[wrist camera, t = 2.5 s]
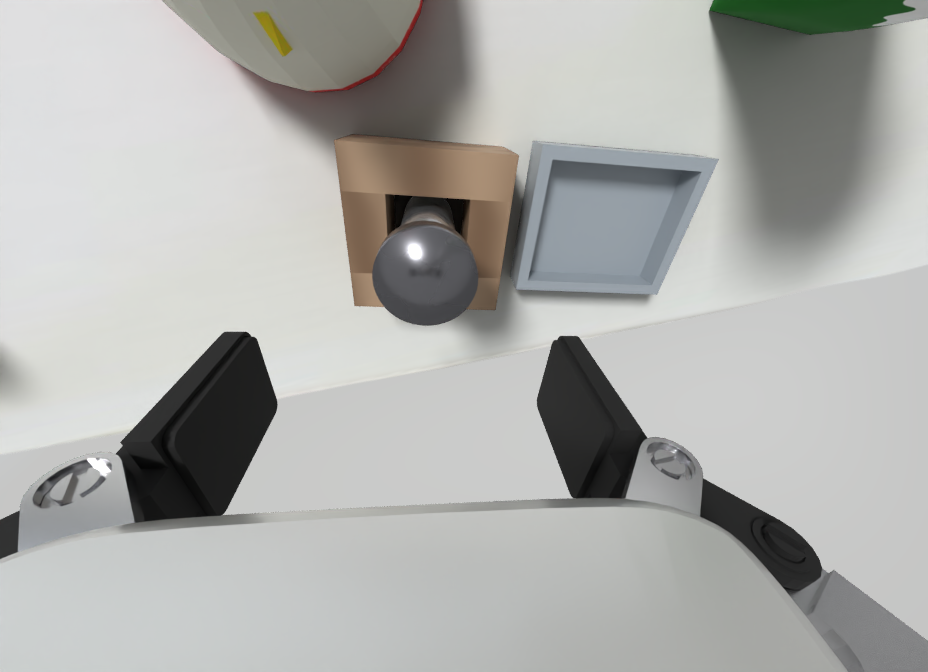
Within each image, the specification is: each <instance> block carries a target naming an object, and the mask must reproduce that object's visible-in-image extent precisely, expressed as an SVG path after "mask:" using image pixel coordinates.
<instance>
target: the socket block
mask: <svg viewBox="0 0 928 672" xmlns="http://www.w3.org/2000/svg"><path fill="white" fill-rule="evenodd" d="M334 144H335V152H336V160H337V168H338V176H339V184H340V192H341V200H342V208H343V216H344V224H345V232H346V240H347V248H348V256H349V264H350V272H351V280H352V288H353V297H354V305H355V306H372V307H384V306H383V304H382V303H381V302H380V300H379V299H378V297H377V295H376V292H375V290H374V286H373V281H372V270H373V265H374V261H375V258H376V256H377V253H378V251H379V248H380V246H381V244H382V243H383V241H384V240H385V238H386V237H387V236H388V235H389V234H390V233H391V232H392V231H394V230H395V205H394V195H409V196H424V197H439V198H454V199H463V206H462V220H461V234H460V235H461V236H462V237H463V238H464V239H465V240H466V242H467V243H468V244H469V246H470V248H471V250H472V252H473V255H474V258H475V262H476V266H477V270H478V287H477V291H476V294H475V296H474V298H473V300H472V302H471V303H470V305H469V306H468V307H467V308H466V309H475V310H496V303H497V296H498V290H499V283H500V277H501V270H502V263H503V257H504V250H505V244H506V237H507V231H508V224H509V217H510V211H511V204H512V198H513V191H514V184H515V178H516V171H517V165H518V158H519V155H517V154H515V153H514V152H512V151H510V150H508V149H506V148H504V147H499V146H487V145H475V144H463V143H452V142H440V141H428V140H416V139H404V138H392V137H380V136H368V135H356V134H352V135H349V136H346V137H343V138H340V139H336V140H334Z"/></svg>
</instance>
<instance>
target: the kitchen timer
mask: <svg viewBox="0 0 928 672" xmlns="http://www.w3.org/2000/svg"><path fill="white" fill-rule="evenodd" d="M162 1H163V2H164V3H165V4H166V5H167V6H168V7H169V8H170V9H172V10H173V11H174V12H175V13H176V14H177V15H178V16H179V17H180V18H181V19H183V20H184V21H185V22H186V23H187V24H188V25H189V26H190V27H191V28H192V29H194V30H195V31H196V32H197V33H198V34H199V35H200V36H201V37H202V38H204V39H205V40H206V41H207V42H208V43H209V44H210V45H211V46H212V47H213V48H215V49H216V50H217V51H218V52H220V53H221V54H223V55H224V56H226V57H227V58H229V59H231V60H233V61H234V62H236V63H238V64H240V65H241V66H243V67H245V68H247V69H248V70H250V71H252V72H254V73H255V74H257V75H259V76H261V77H262V78H264V79H266V80H268V81H270V82H274V83H278V84H282V85H286V86H290V87H293V88H297V89H301V90H305V91H310V92H326V91H339V90H349V89H351V88H353V87H355V86H357V85H359V84H361V83H363V82H365V81H368V80H370V79H372V78H374V77H376V76H378V75H379V74H380V73H381V71H382V70H383V69H384V68H385V67H386V66H387V65H388V64H389V63H390V62H391V61H392V60H393V59H394V58H395V57H396V56H397V55H398V54H399V53H400V52H401V51H402V49H403V47H404V45H405V43H406V41H407V39H408V37H409V35H410V33H411V31H412V29H413V27H414V25H415V23H416V21H417V19H418V17H419V15H420V12H421V8H422V3H423V0H162Z"/></svg>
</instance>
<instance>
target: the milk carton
mask: <svg viewBox="0 0 928 672" xmlns="http://www.w3.org/2000/svg"><path fill="white" fill-rule="evenodd" d="M710 11H714V12H718V13H722V14H726V15H730V16H734V17H739V18H743V19H747V20H751V21H755V22H759V23H763V24H767V25H772V26H776V27H780V28H784V29H788V30H792V31H796V32H800V33H805V34H809V35H812V34H821V33H832V32H843V31H853V30H860V29H867V28H874V27H880V26H887V25H892V24H898V23H903V22H909V21H914V20H920V19H925V18H928V0H714V1H713V3H712V6H711V8H710Z"/></svg>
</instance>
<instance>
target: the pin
mask: <svg viewBox="0 0 928 672" xmlns="http://www.w3.org/2000/svg"><path fill="white" fill-rule="evenodd" d="M372 281H373V286H374V290H375V292H376V295H377V297H378V299H379V300H380V302H381V303H382V304H383V306H384V307H385V308H386V309H387V310H388V311H389V312H390V313H392V314H393V315H394V316H396V317H398V318H399V319H401V320H403V321H406V322H409V323H412V324H417V325H437V324H441V323H445V322H448V321H450V320H452V319H454V318H456V317H457V316H459V315H460V314H461V313H462V312H464V311H465V310H466V308H467V307H468V306H469V305H470V303H471V302H472V300H473V298H474V296H475V294H476V291H477V287H478V270H477V266H476V262H475V258H474V255H473V252H472V250H471V248H470V246H469V244H468V243H467V242H466V240H465V239H464V238H463V237H462V236H461V235H460V234H459V233H458V232H457V231H455V226H454V221H453V215H452V211H451V208H450V206H449V204H448V202H447V201H446V200H445V199H444V198H439V197H424V196H414V197H412V198H411V199H410V200H409V202H408V203H407V206H406V208H405V212H404V215H403V219H402V223H401V226H400V227H398V228H397V229H395V230H394V231H392V232H391V233H390V234H389V235H388V236H387V237H386V238H385V240H384V241H383V243H382V244H381V246H380V248H379V251H378V253H377V256H376V258H375V261H374V265H373V270H372Z"/></svg>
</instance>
